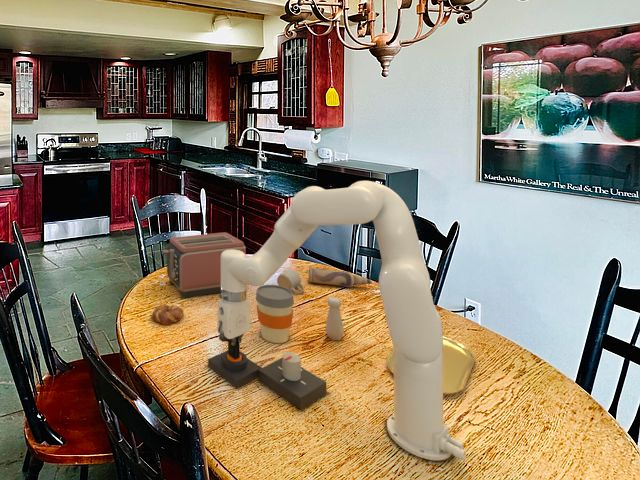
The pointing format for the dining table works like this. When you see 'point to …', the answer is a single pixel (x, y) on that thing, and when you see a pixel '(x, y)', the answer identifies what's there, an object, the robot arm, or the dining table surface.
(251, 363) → the block
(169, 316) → the braided bread roll
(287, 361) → the timer knob
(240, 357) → the button
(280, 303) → the reusable coffee cup
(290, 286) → the ceramic mug
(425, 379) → the robot arm
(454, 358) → the serving platter
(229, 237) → the toaster
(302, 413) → the dining table surface
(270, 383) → the fryer panel
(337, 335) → the salt shaker
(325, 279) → the decorative bottle
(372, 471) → the dining table surface
